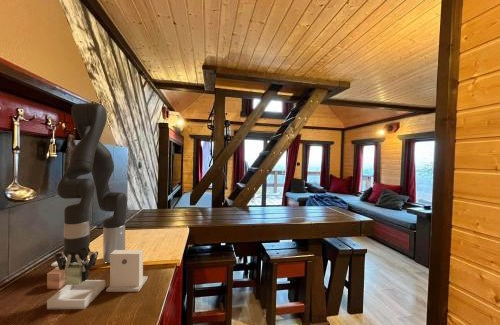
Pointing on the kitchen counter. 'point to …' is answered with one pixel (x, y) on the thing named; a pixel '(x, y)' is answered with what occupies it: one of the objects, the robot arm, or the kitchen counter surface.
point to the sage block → (74, 274)
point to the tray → (76, 295)
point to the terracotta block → (56, 279)
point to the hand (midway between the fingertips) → (77, 280)
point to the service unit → (126, 271)
